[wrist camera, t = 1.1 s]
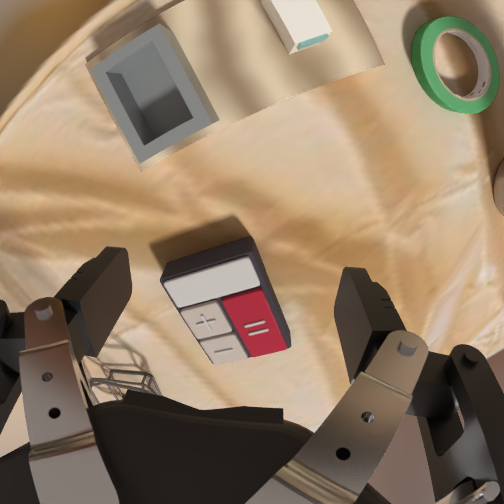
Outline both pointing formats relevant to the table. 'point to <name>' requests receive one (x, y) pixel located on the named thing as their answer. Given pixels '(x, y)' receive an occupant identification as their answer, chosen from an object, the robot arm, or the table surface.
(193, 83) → the end holder
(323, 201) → the table surface
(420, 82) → the tape roll
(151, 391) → the geometric lantern
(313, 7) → the white block
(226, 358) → the calculator
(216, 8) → the beige mat
